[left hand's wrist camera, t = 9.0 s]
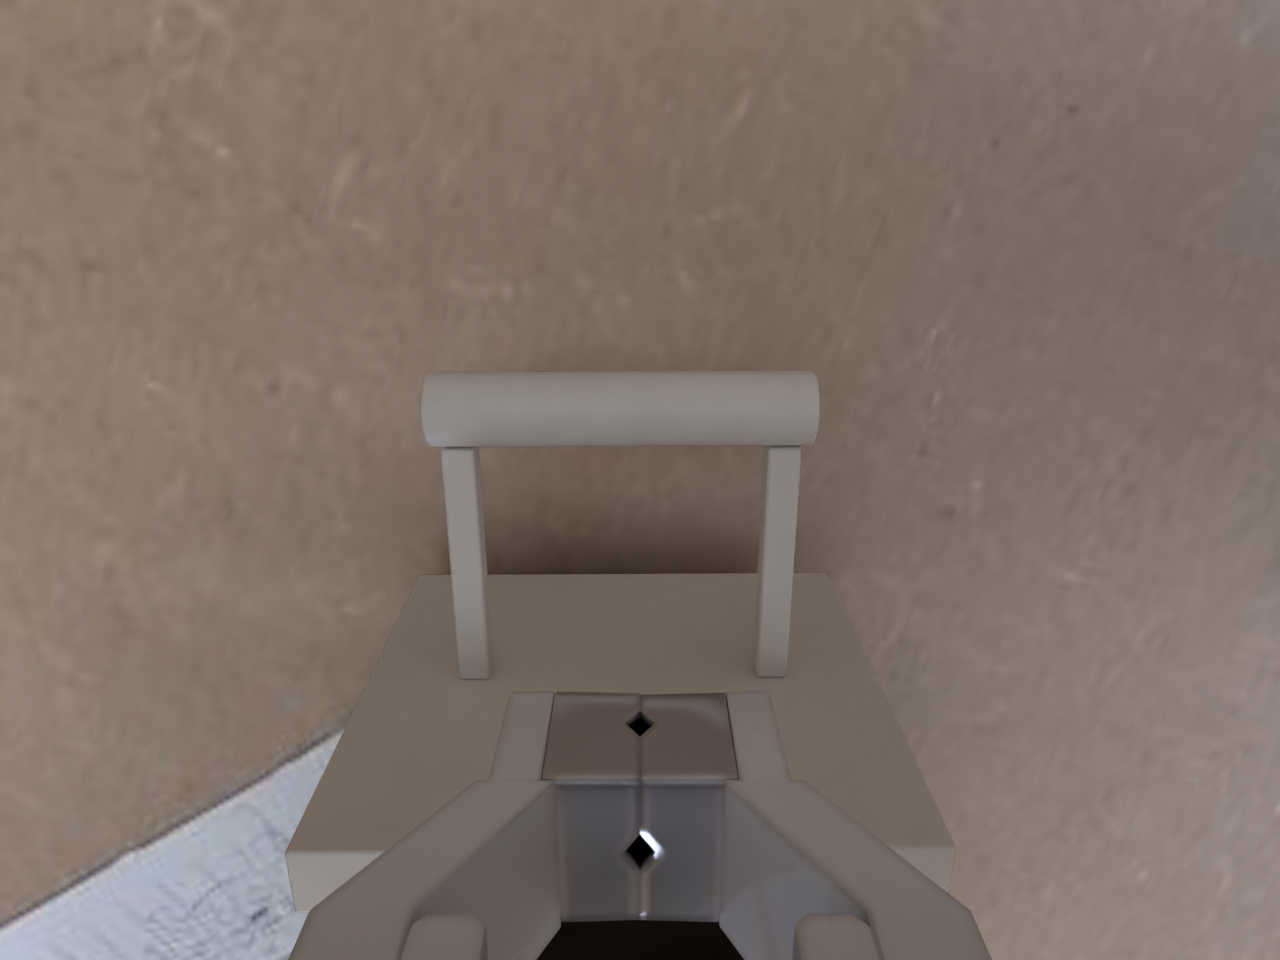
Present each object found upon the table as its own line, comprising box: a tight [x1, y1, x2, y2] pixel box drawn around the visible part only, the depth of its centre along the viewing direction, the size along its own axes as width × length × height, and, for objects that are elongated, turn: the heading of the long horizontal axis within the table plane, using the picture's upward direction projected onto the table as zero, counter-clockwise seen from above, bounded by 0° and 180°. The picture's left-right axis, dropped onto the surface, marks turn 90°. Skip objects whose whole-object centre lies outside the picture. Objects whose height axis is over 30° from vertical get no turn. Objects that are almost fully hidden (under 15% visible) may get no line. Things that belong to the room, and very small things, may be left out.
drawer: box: [285, 371, 955, 960], centre depth 19 cm, size 23×10×9 cm, turn 0°
